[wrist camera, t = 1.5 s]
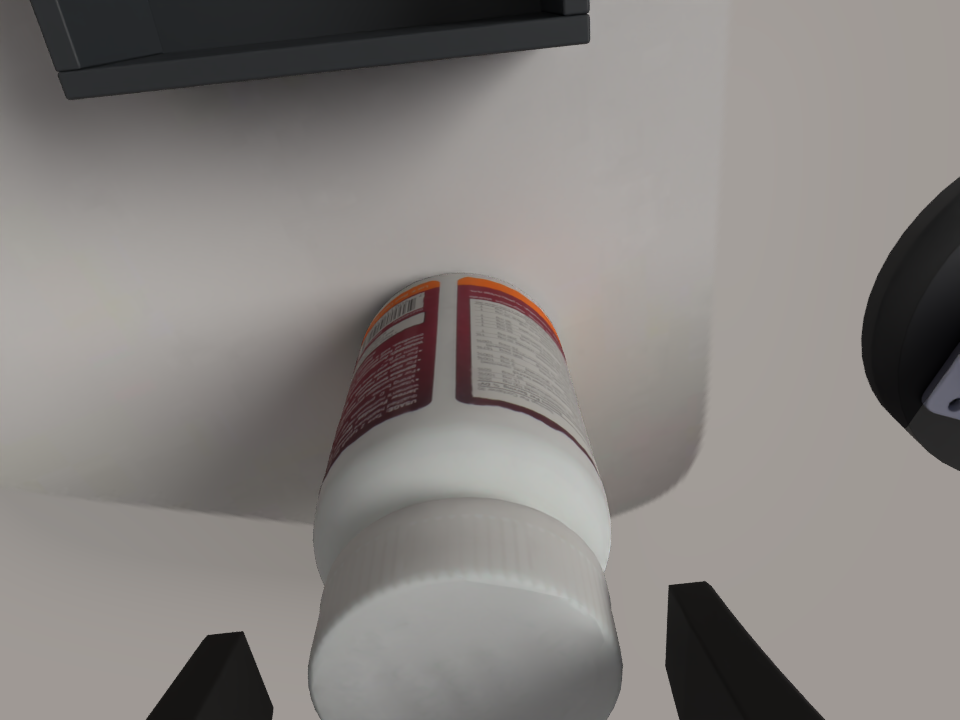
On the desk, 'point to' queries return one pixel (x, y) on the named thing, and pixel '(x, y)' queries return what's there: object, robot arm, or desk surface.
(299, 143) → the desk surface
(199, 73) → the waste bin
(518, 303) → the pill bottle
